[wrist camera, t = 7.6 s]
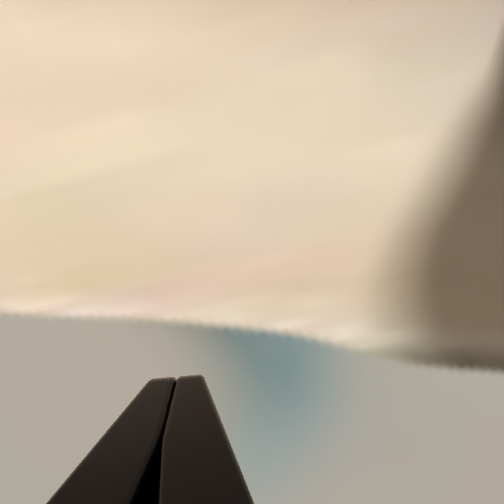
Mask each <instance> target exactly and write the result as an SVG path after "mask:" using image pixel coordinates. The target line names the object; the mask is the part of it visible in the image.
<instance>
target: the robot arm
mask: <svg viewBox="0 0 504 504" xmlns="http://www.w3.org/2000/svg"><path fill="white" fill-rule="evenodd" d="M46 504H254V502H253V500H252V497H251V495H250V492H249V490H248V487H247V485H246V482H245V480H244V477H243V475H242V472H241V470H240V467H239V465H238V462H237V460H236V457H235V454H234V452H233V449H232V447H231V444H230V442H229V440H228V437H227V434H226V432H225V429H224V427H223V424H222V422H221V419H220V417H219V414H218V412H217V409H216V406H215V404H214V402H213V399H212V396H211V394H210V391H209V389H208V386H207V384H206V381H205V379H204V377H203V376H202V375H190V376H181V377H179V378H178V379H175V378H174V377H168V378H157V379H152V380H150V381H149V382H148V383H147V384H146V385H145V386H144V387H143V389H142V390H141V391H140V392H139V393H138V395H137V396H136V397H135V398H134V399H133V400H132V402H131V403H130V404H129V405H128V407H127V408H126V409H125V410H124V411H123V412H122V414H121V415H120V416H119V417H118V419H117V420H116V421H115V422H114V423H113V425H112V426H111V427H110V428H109V429H108V430H107V432H106V433H105V434H104V435H103V436H102V438H101V439H100V440H99V441H98V442H97V444H96V445H95V446H94V447H93V448H92V450H91V451H90V452H89V453H88V454H87V456H86V457H85V458H84V459H83V460H82V462H81V463H80V464H79V465H78V466H77V468H76V469H75V470H74V471H73V472H72V474H71V475H70V476H69V477H68V478H67V480H66V481H65V482H64V483H63V484H62V485H61V487H60V488H59V489H58V491H57V492H56V493H55V494H54V495H53V496H52V497H51V499H50V500H49V501H48V502H47V503H46Z"/></svg>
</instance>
